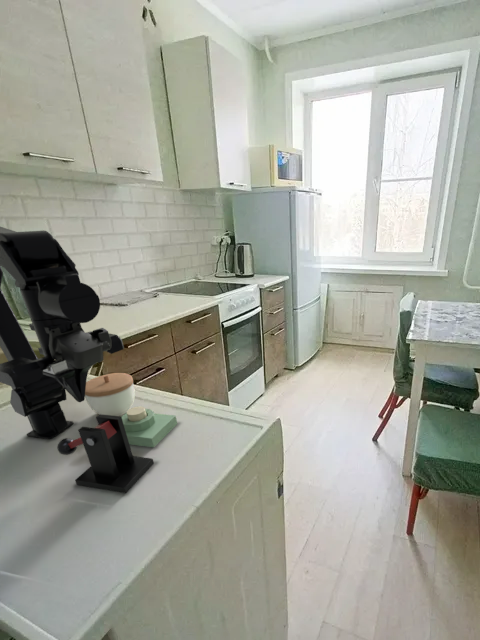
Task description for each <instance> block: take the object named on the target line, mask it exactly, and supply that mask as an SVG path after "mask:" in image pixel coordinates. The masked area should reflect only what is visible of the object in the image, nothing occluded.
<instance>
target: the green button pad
mask: <svg viewBox="0 0 480 640" xmlns="http://www.w3.org/2000/svg"><path fill="white" fill-rule="evenodd" d="M145 411H146V414H147V417H146V418H144V419H142V420H140V421H135V422H131V421H129V420H128V416H127V413H125V414H123V415H121V417H122V421H123V424H124V428H125V431H126V434H127V438H128V441H129V445H130V446H131V445H133V446H139V447H146V448H155V447H156V446H157V445H158V444H159V443H160V442H161V441H162V440H163V439H164V438H165V437H166V436H167V435H168V434H169V433H171V431H172V430H173V429H174V428H175V427H176V426H177V425H178V421H177V416H176V415H174V414H166V413H165V414H164V413H155V412H154V411H153V410H152V409H150V408H145Z"/></svg>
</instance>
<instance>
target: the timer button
mask: <svg viewBox="0 0 480 640" xmlns="http://www.w3.org/2000/svg"><path fill="white" fill-rule="evenodd" d="M145 409H146V408H145V407H144V406H142V405H141V406H140V405H139V406H133V407H130V409H129V410H128V411H127V416H128V420H129V421H131V422H135V421H140V420H142V419H144V418H146V417H147V414H146V411H145Z"/></svg>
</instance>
